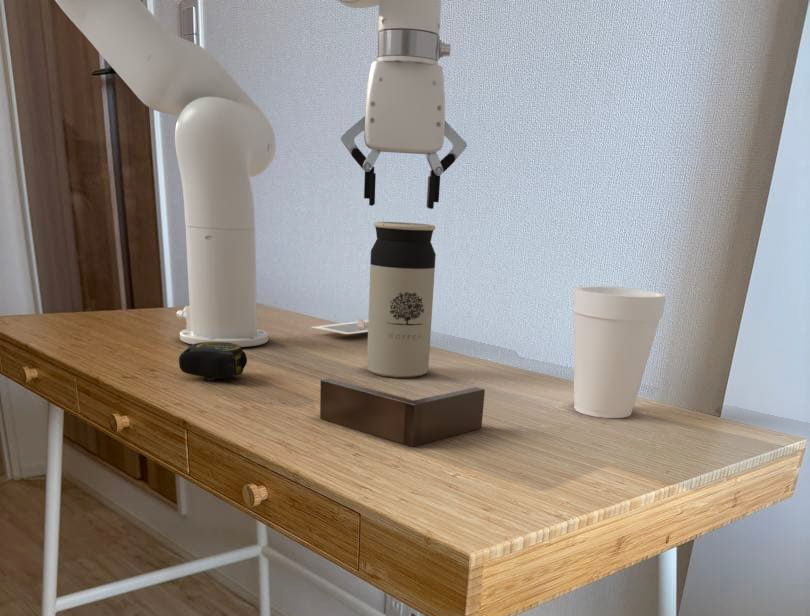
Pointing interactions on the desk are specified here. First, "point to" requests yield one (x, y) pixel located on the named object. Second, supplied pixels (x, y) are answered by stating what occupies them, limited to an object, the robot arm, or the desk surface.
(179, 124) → the robot arm
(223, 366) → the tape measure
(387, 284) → the travel mug
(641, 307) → the foam cup
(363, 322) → the touchpad
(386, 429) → the corner guard
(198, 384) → the desk surface
